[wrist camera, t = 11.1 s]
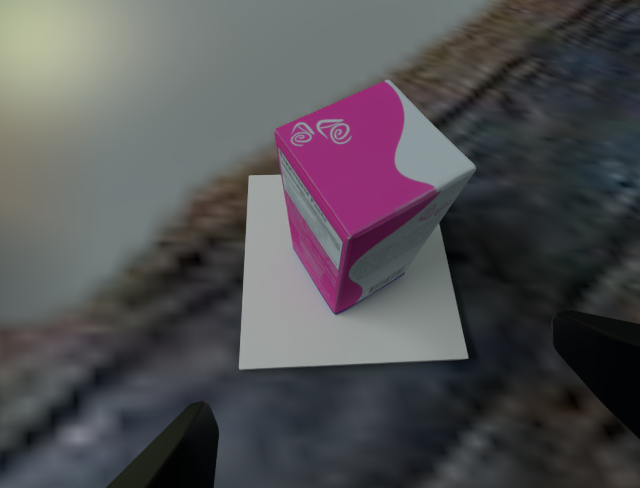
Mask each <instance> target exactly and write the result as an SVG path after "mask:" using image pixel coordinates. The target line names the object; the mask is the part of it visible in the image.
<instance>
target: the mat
mask: <svg viewBox="0 0 640 488" xmlns="http://www.w3.org/2000/svg"><path fill="white" fill-rule="evenodd" d="M464 359H469V358H468V354H467V349H466V345H465V340H464V335H463V331H462V326H461V322H460V317H459V313H458V308H457V303H456V299H455V294H454V290H453V285H452V280H451V276H450V271H449V267H448V262H447V258H446V253H445V248H444V244H443V239H442V235H441V230H440V226H439V224H438V225H437V227H436V228H435V229H434V231H433V232H432V234H431V235H430V236H429V238H428V239H427V241H426V242H425V244H424V245H423V247H422V248H421V249H420V251H419V252H418V254H417V255H416V256H415V258H414V259H413V261H412V262H411V264H410V265H409V267H408V268H407V270H406V271H405V274H404V275H402V276H401V277H399V278H398V279H396V280H395V281H393V282H391V283H390V284H388V285H387V286H385V287H383V288H382V289H380V290H378V291H377V292H375V293H373V294H372V295H370V296H368V297H367V298H365V299H364V300H362V301H360V302H358V303H357V304H355V305H353V306H352V307H350V308H348V309H346V310H345V311H343V312H341V313H339V314H337V315H335V314H334V313H333V312H332V311H331V309H330V308H329V306H328V305H327V303H326V301H325V300H324V298H323V297H322V295H321V293H320V292H319V290H318V288H317V287H316V285H315V284H314V282H313V280H312V279H311V277H310V275H309V274H308V272H307V270H306V269H305V267H304V265H303V264H302V262H301V260H300V259H299V257H298V255H297V254H296V252H295V251H294V249H293V245H292V238H291V232H290V226H289V220H288V213H287V207H286V202H285V196H284V190H283V184H282V177H281V175H255V176H249V186H248V206H247V225H246V244H245V263H244V282H243V302H242V321H241V340H240V359H239V369H240V370H257V369H279V368H300V367H322V366H343V365H364V364H386V363H407V362H429V361H450V360H464Z"/></svg>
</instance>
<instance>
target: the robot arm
mask: <svg viewBox="0 0 640 488" xmlns="http://www.w3.org/2000/svg"><path fill="white" fill-rule="evenodd" d="M552 341H553V345H554V348H555V349H556V351H557V352H558V354H559V355H560V356H561V357H562V358H563V359H564V360H565V361H566V363H567V364H568V365H569V366H570V367H571V368H572V369H573V371H574V372H575V373H576V374H577V375H578V376H579V377H580V379H581V380H582V381H583V382H584V383H585V384H586V385H587V387H588V388H589V389H590V390H591V391H592V392H593V393H594V394H595V396H596V397H597V398H598V399H599V400H600V401H601V402H602V403H603V404H604V405H605V406H606V407H607V408H608V409H609V410H610V411H611V412H612V413H613V414H614V415H615V416H616V417H617V418H618V419H619V420H620V421H621V422H622V423H623V424H624V425H625V426H626V427H627V428H628V429H629V430H630V431H631V432H633V433H634V434H635V435H636V436H637V437H638V438H639V439H640V324H636V323H631V322H626V321H621V320H616V319H612V318H607V317H602V316H597V315H592V314H587V313H582V312H577V311H572V310H568V311H564V312H560V313H556V314H554V315H553V316H552ZM218 439H219V429H218V425H217V422H216V420H215V417H214V415H213V412H212V410H211V407H210V405H209V403H208V402H207V401H201V402H197V403H193V404H190V405H189V406H188V407H187V408H186V409H185V410H184V411H183V412H182V413H181V414H180V415H179V416H178V417H177V418H176V419H175V420H174V421H173V422H172V423H171V424H170V425H169V426H168V427H167V428H166V429H165V430H164V431H162V432H161V433H160V434H159V435H158V436H157V437H156V438H155V439H154V440H153V441H152V442H151V443H150V444H149V445H148V446H147V447H146V448H145V449H144V450H143V451H142V452H141V453H140V454H139V455H138V456H137V457H136V458H135V459H134V460H133V461H132V462H131V463H130V464H129V465H128V466H127V467H126V468H125V469H124V470H123V471H122V472H121V473H120V474H119V475H118V476H117V477H116V478H115V479H114V480H113V481H112V482H111V483H110V484H109V485H108V486H107V487H106V488H214V479H215V469H216V459H217V449H218Z"/></svg>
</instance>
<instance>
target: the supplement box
mask: <svg viewBox="0 0 640 488" xmlns="http://www.w3.org/2000/svg"><path fill="white" fill-rule="evenodd" d="M274 133H275V141H276V147H277V153H278V160H279V166H280V171H281V177H282V184H283V190H284V196H285V202H286V207H287V213H288V220H289V226H290V232H291V238H292V245H293V249H294V251H295V252H296V254H297V255H298V257H299V259H300V260H301V262H302V264H303V265H304V267H305V269H306V270H307V272H308V274H309V275H310V277H311V279H312V280H313V282H314V284H315V285H316V287H317V288H318V290H319V292H320V293H321V295H322V297H323V298H324V300H325V301H326V303H327V305H328V306H329V308H330V309H331V311H332V312H333V313H334V314H335V315H337V314H339V313H341V312H343V311H345V310H346V309H348V308H350V307H352V306H353V305H355V304H357V303H358V302H360V301H362V300H364V299H365V298H367V297H368V296H370V295H372V294H373V293H375V292H377V291H378V290H380V289H382V288H383V287H385V286H387V285H388V284H390V283H391V282H393V281H395V280H396V279H398V278H399V277H401V276H402V275H404V274H405V271H406V270H407V268H408V267H409V265H410V264H411V262H412V261H413V259H414V258H415V256H416V255H417V254H418V252H419V251H420V249H421V248H422V247H423V245H424V244H425V242H426V241H427V239H428V238H429V236H430V235H431V234H432V232H433V231H434V229H435V228H436V227H437V225H438V224H439V222H440V221H441V219H442V218H443V217H444V215H445V214H446V212H447V211H448V209H449V208H450V206H451V205H452V203H453V202H454V200H455V199H456V198H457V196H458V195H459V193H460V192H461V191H462V189H463V188H464V186H465V185H466V183H467V182H468V180H469V179H470V177H471V176H472V175H473V173H474V172H475V171H476V167H475V165H474V164H473V163H472V162H471V161H470V160H469V159H468V158H467V157H466V156H465V155H464V154H463V153H462V152H460V151H459V150H458V149H457V148H456V147H455V146H454V145H453V144H452V143H451V142H450V141H449V140H448V139H447V138H446V137H445V136H444V135H443V134H442V133H441V132H440V131H439V130H438V129H437V128H436V127H435V126H434V125H433V124H432V123H431V122H430V121H429V120H428V119H427V118H426V117H425V116H424V115H423V114H422V113H421V112H420V111H419V110H418V109H417V108H416V107H415V106H414V105H413V104H412V103H411V102H410V101H409V100H408V99H407V98H406V96H405V95H404V94H403V93H402V92H401V91H400V90H399V89H398V88H397V87H396V86H395V85H394V84H393V83H392V82H391V81H390V80H385V81H383V82H381V83H379V84H377V85H374V86H372V87H370V88H368V89H365V90H363V91H361V92H358V93H356V94H354V95H352V96H349V97H347V98H345V99H343V100H340V101H338V102H336V103H334V104H331V105H329V106H327V107H325V108H322V109H320V110H318V111H316V112H313V113H311V114H309V115H306V116H304V117H302V118H299V119H297V120H295V121H293V122H290V123H288V124H286V125H283V126H281V127H279V128H277V129H275V131H274Z"/></svg>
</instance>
